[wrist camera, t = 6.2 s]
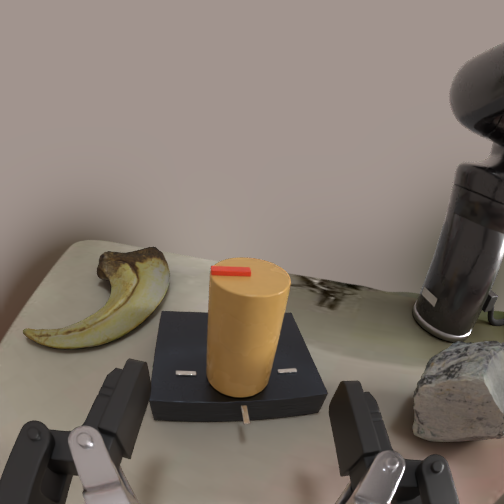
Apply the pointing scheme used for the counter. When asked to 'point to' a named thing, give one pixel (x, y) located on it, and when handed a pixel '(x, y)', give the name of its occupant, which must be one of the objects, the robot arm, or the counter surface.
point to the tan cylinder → (244, 323)
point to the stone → (461, 394)
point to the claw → (116, 300)
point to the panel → (212, 401)
